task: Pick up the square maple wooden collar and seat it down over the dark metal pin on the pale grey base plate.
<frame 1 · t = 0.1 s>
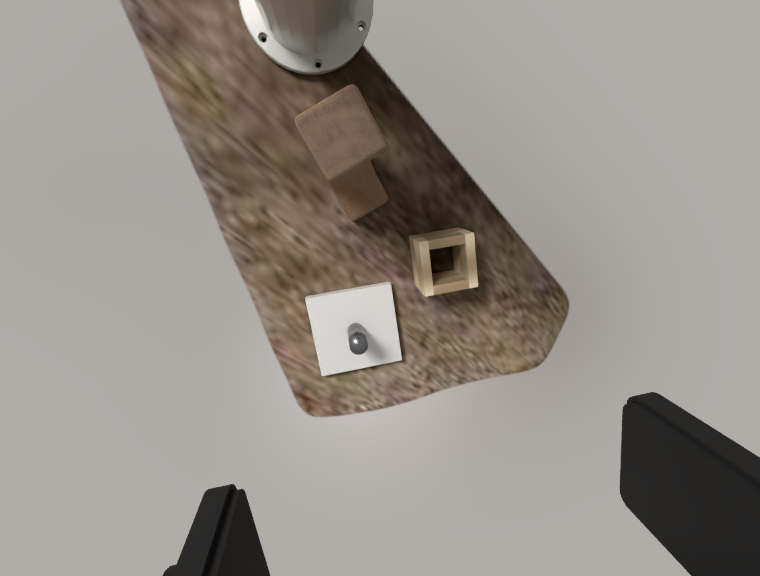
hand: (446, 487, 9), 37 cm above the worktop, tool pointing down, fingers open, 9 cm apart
pin plate: (355, 327, 47), on the worktop
wooden block: (345, 172, 42), on the worktop
maple collar: (436, 256, 46), on the worktop
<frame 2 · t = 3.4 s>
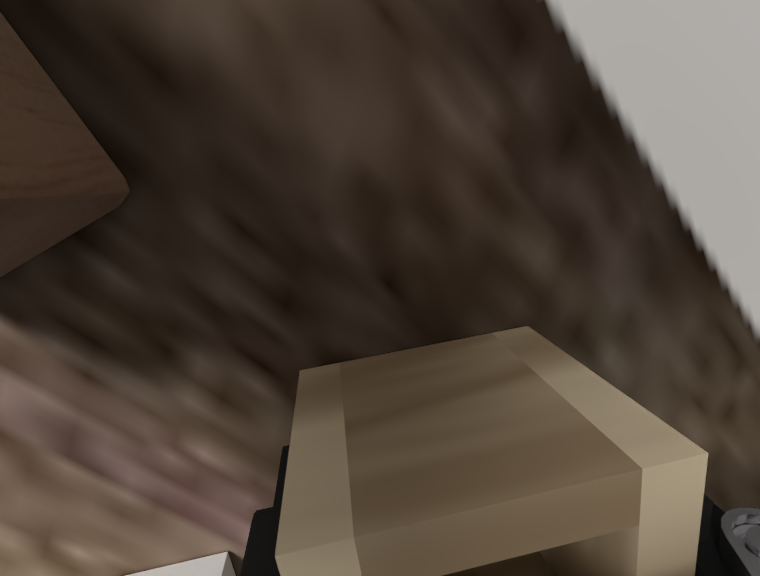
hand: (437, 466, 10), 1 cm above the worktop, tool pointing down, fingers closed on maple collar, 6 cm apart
maple collar: (429, 445, 11), on the worktop, touching gripper
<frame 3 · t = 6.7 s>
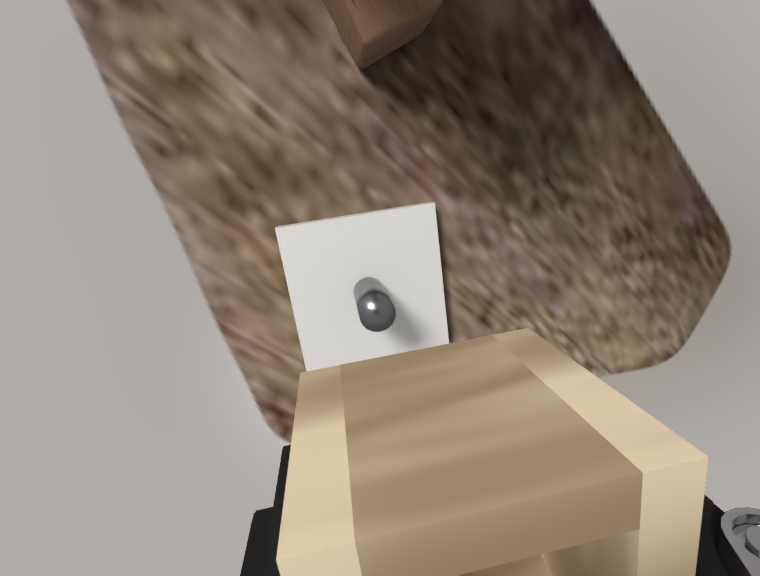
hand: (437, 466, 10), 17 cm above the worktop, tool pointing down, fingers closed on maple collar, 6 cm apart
pin plate: (367, 287, 26), on the worktop
maple collar: (430, 447, 11), point 16 cm above the worktop, touching gripper
when the fingers open (3 cm above the worktop, at t = 9.9 s): maple collar drops 1 cm, resting on pin plate.
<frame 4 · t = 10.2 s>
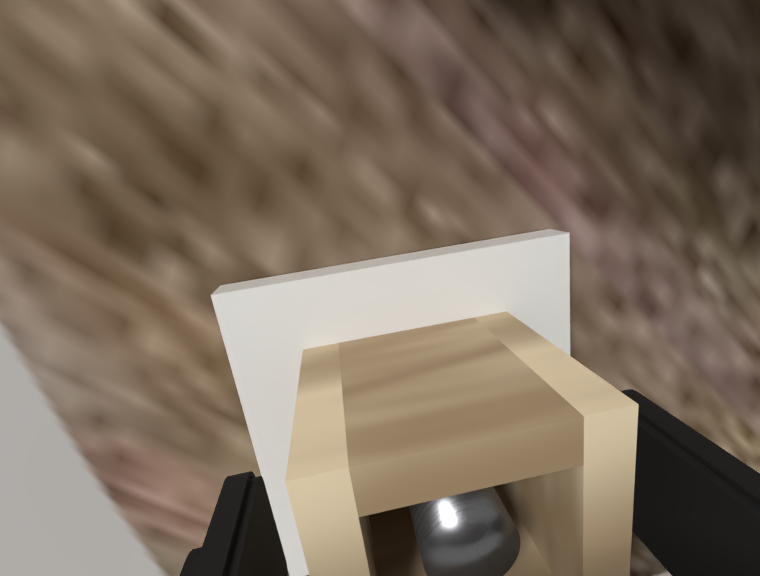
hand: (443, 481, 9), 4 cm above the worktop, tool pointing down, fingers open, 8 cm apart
pin plate: (412, 401, 13), on the worktop
maple collar: (419, 419, 12), point 1 cm above the worktop, touching pin plate
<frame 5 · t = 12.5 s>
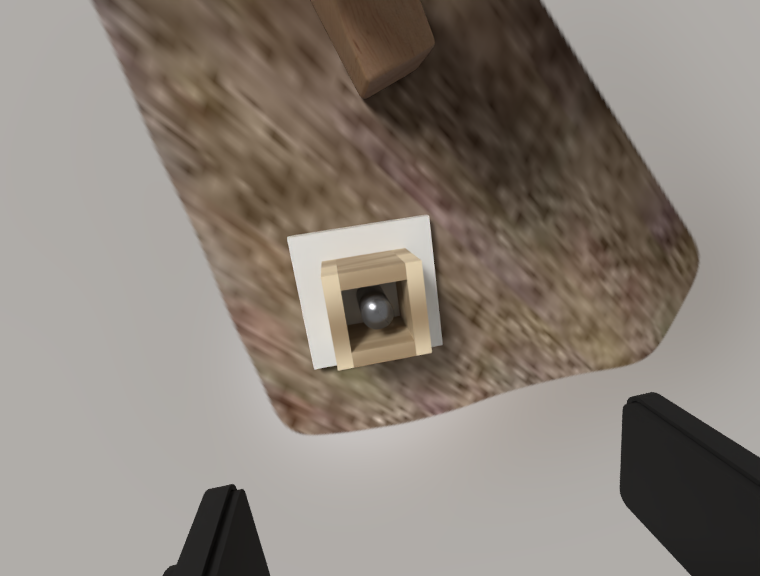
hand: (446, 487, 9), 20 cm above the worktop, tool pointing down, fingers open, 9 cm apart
pin plate: (368, 291, 29), on the worktop
wooden block: (357, 17, 25), on the worktop
maple collar: (369, 294, 28), point 1 cm above the worktop, touching pin plate
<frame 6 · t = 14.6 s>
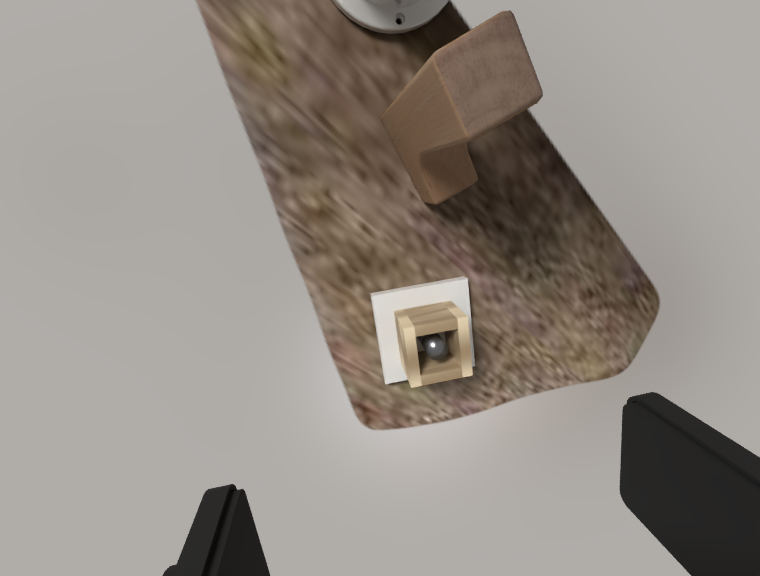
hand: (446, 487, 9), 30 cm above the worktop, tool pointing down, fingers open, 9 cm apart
pin plate: (423, 329, 41), on the worktop
wooden block: (421, 150, 37), on the worktop
maple collar: (425, 332, 40), point 1 cm above the worktop, touching pin plate
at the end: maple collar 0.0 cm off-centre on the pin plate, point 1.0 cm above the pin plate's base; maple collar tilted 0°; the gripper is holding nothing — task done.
